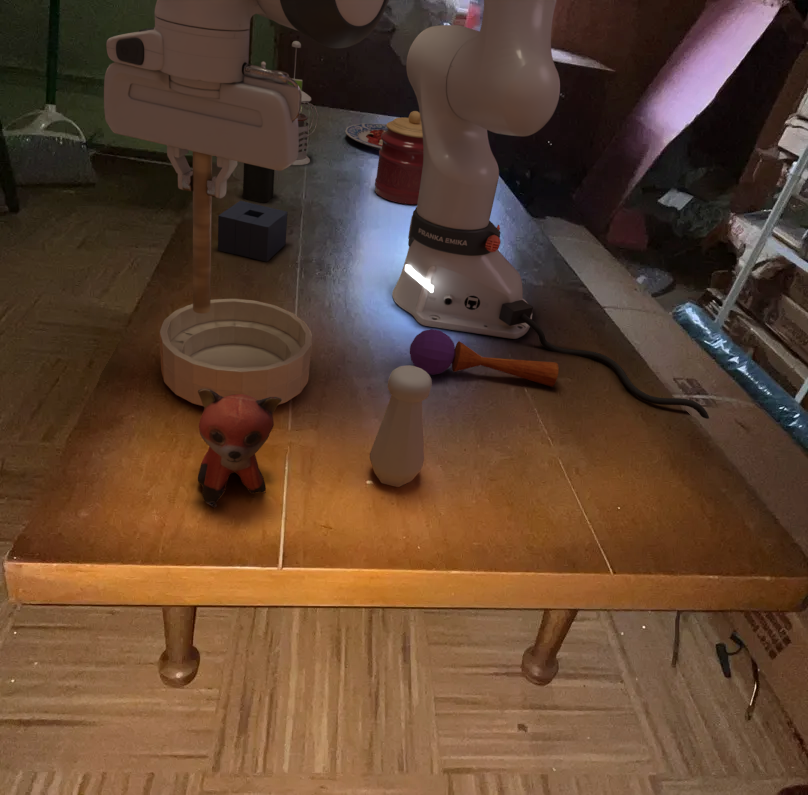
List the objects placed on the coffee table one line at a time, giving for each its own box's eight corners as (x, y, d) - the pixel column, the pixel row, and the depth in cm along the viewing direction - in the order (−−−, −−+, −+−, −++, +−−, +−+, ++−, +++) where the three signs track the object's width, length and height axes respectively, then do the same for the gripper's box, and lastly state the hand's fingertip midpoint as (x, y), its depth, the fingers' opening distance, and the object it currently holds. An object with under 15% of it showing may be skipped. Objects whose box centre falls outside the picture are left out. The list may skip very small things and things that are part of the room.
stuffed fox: (272, 443, 80) (278, 349, 74) (276, 514, 71) (283, 414, 64) (200, 443, 78) (200, 346, 72) (195, 515, 69) (195, 412, 63)
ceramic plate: (334, 128, 199) (335, 117, 198) (422, 135, 208) (424, 124, 206) (358, 157, 179) (359, 144, 178) (454, 163, 188) (456, 151, 186)
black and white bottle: (265, 203, 142) (272, 66, 129) (240, 198, 143) (244, 60, 129) (274, 196, 147) (281, 62, 133) (250, 190, 147) (255, 57, 134)
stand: (285, 244, 127) (287, 211, 124) (266, 262, 120) (268, 227, 116) (239, 233, 128) (240, 200, 125) (217, 250, 121) (218, 215, 117)
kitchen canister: (441, 206, 157) (457, 121, 148) (385, 205, 152) (398, 117, 143) (418, 185, 167) (431, 105, 157) (365, 184, 162) (375, 101, 152)
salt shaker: (419, 460, 82) (439, 361, 74) (421, 494, 77) (443, 391, 70) (367, 455, 81) (382, 354, 74) (366, 489, 76) (383, 385, 69)
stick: (213, 308, 87) (216, 118, 76) (205, 315, 86) (207, 122, 74) (197, 304, 88) (198, 114, 76) (189, 311, 86) (189, 118, 74)
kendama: (565, 373, 95) (415, 345, 92) (548, 405, 99) (405, 379, 96) (558, 344, 99) (416, 316, 96) (543, 375, 103) (405, 349, 100)
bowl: (326, 358, 97) (330, 318, 94) (277, 430, 82) (280, 386, 79) (202, 327, 99) (202, 287, 96) (133, 392, 84) (130, 347, 81)
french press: (259, 153, 169) (264, 35, 156) (300, 150, 177) (308, 37, 163) (283, 166, 164) (290, 45, 150) (324, 162, 171) (335, 46, 158)
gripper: (313, 71, 73) (302, 205, 81) (126, 32, 75) (132, 165, 83) (291, 80, 68) (282, 222, 75) (90, 37, 70) (100, 179, 78)
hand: (202, 192), depth 79 cm, fingers closed on stick, 2 cm apart
